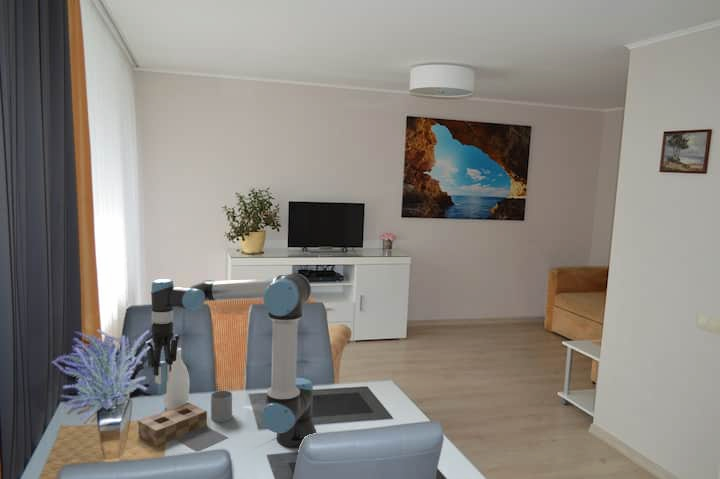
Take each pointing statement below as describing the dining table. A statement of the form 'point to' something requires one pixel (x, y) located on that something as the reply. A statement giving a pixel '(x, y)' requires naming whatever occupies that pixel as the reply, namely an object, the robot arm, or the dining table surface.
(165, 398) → the bottle
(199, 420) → the block
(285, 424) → the robot arm
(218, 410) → the cup
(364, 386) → the dining table surface
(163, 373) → the peg
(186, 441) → the mat
